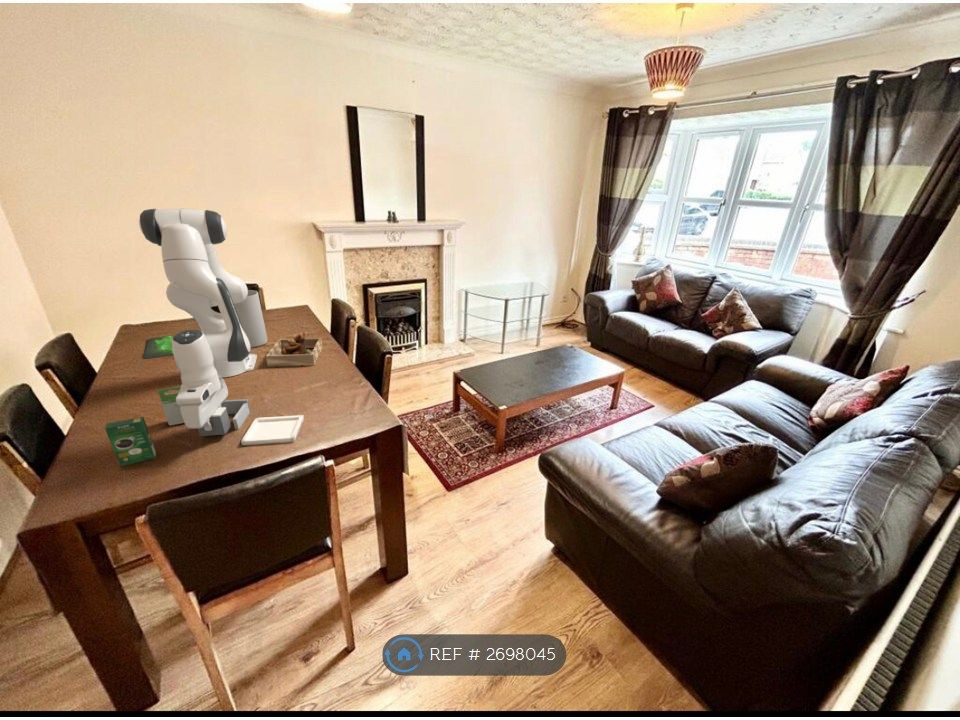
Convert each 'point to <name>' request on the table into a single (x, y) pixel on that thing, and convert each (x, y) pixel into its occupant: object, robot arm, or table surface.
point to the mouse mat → (158, 347)
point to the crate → (295, 359)
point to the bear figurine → (296, 346)
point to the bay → (237, 410)
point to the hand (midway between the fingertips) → (213, 424)
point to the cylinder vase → (252, 319)
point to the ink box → (171, 406)
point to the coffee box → (130, 441)
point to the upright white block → (217, 423)
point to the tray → (273, 430)
